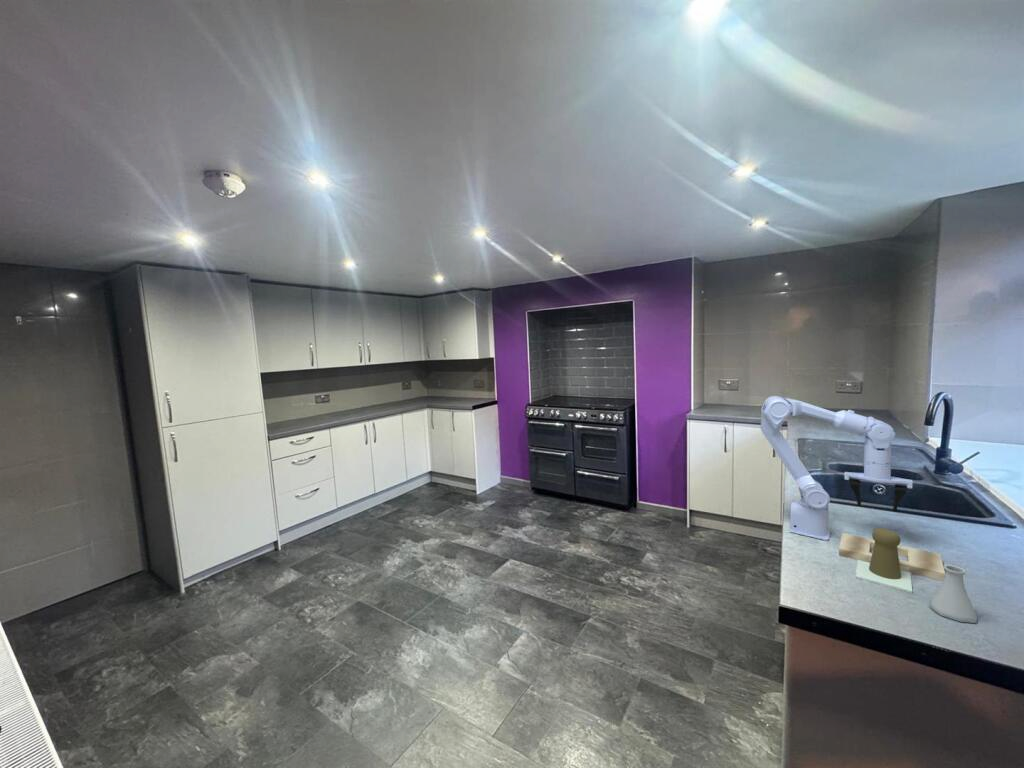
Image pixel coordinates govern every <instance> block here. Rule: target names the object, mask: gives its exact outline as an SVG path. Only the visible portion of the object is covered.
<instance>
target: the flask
mask: <svg viewBox="0 0 1024 768" xmlns="http://www.w3.org/2000/svg"><path fill="white" fill-rule="evenodd" d="M943 567H944V571H945V578H944V581H942V582H941V585H940V586H939V587H938V589H937V591H936V592H935V594H933V596H932V598H931V599H930V600H929V604H928V607H929V608H930V609H931V610H932V611H934V612H935V613H937V614H938V615H939V616H941V617H944V618H948V619H950V620H955V621H956V622H959V623H960V622H961V623H972V624H977V623H978V616H977V613H976V611H975V609H974V607H973V604H972V602H971V600H970V597H969V594H968V593H967V590H966V588H965V582H964V576H965V575H966V570H965V569H964V568H963V567H961V566H956V565H953V564H943Z"/></svg>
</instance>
